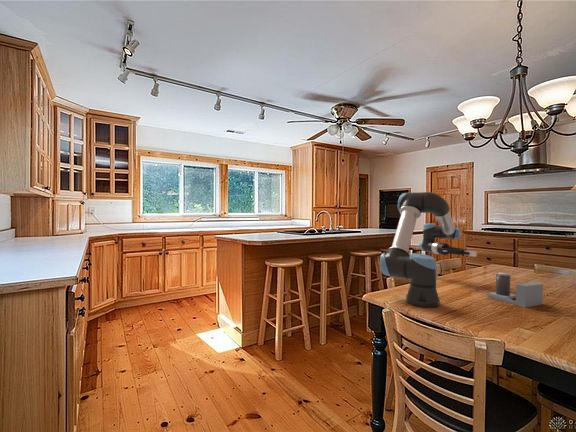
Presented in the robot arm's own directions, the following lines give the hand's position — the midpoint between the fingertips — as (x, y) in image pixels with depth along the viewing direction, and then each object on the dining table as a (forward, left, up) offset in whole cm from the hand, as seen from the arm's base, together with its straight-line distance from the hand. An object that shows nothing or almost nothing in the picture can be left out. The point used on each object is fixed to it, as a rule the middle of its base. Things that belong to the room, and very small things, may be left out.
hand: (475, 254), depth 167 cm
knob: (-1, -16, -19) cm, 25 cm away
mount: (-1, -20, -20) cm, 28 cm away
